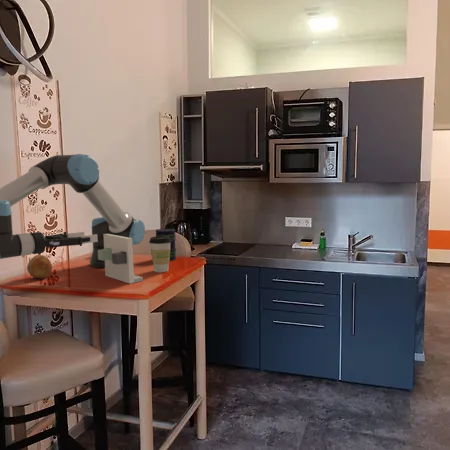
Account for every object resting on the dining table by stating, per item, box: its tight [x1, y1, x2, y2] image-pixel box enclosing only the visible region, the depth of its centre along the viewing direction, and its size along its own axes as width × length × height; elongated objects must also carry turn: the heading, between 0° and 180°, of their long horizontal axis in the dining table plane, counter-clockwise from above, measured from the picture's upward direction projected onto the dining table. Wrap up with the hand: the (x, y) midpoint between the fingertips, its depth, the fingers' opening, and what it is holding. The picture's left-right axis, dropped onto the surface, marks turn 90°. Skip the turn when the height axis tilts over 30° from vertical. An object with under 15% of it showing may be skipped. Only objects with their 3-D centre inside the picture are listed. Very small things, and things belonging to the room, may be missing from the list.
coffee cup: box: [148, 236, 171, 273], centre depth 208 cm, size 10×10×15 cm
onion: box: [26, 254, 53, 279], centre depth 198 cm, size 10×10×10 cm
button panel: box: [103, 234, 144, 284], centre depth 195 cm, size 20×6×18 cm, turn 42°
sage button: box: [98, 248, 112, 261], centre depth 197 cm, size 4×6×4 cm, turn 132°
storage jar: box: [155, 228, 177, 262], centre depth 234 cm, size 10×10×15 cm
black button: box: [112, 252, 127, 265], centre depth 188 cm, size 4×6×4 cm, turn 132°
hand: (90, 236), depth 178 cm, fingers open, 10 cm apart
